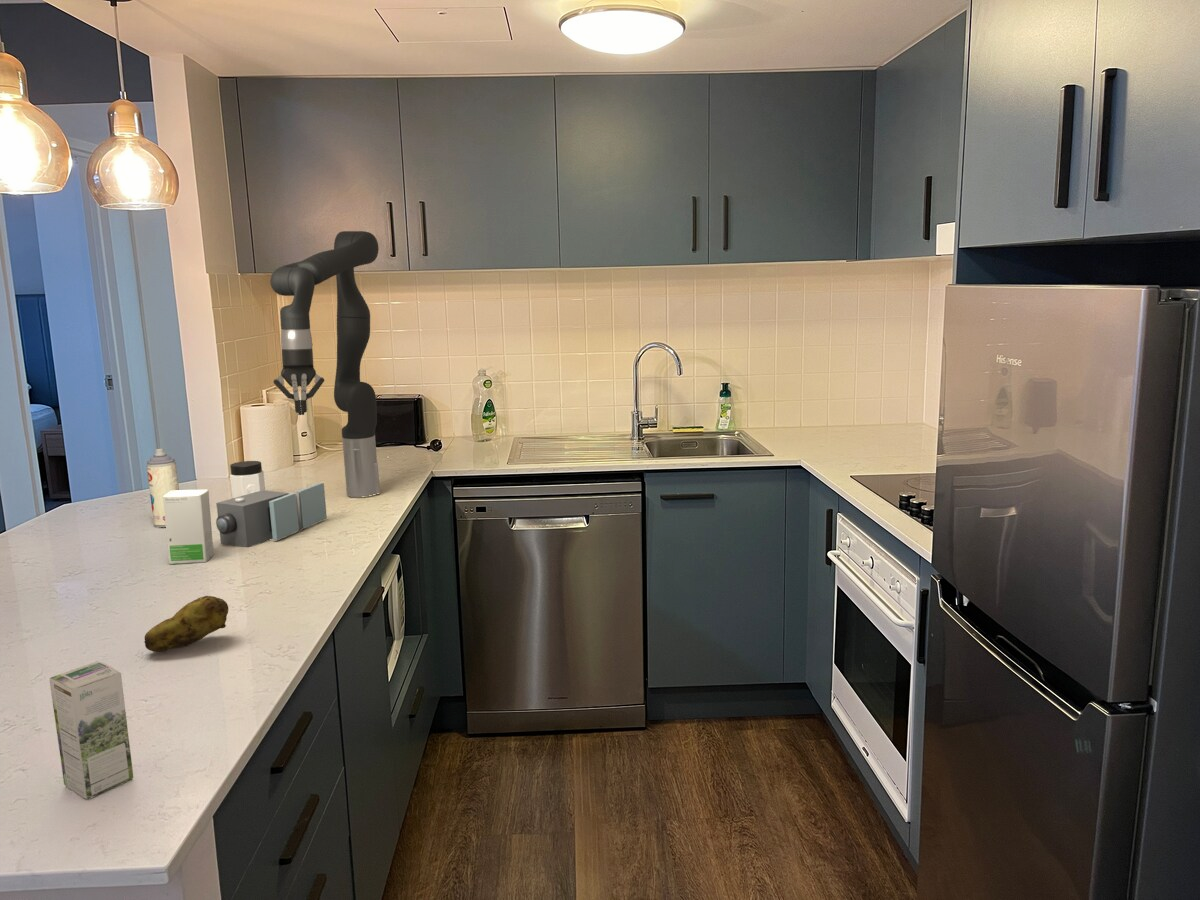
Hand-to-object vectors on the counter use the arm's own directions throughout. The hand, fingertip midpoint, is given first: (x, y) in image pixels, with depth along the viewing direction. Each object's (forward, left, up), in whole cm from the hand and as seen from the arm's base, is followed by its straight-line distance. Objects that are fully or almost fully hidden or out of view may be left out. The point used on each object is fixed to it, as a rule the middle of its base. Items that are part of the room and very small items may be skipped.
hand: (301, 414), depth 226 cm
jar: (+16, -22, -28) cm, 39 cm away
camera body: (+13, +16, -28) cm, 34 cm away
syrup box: (+24, +125, -28) cm, 130 cm away
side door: (+3, +13, -28) cm, 31 cm away
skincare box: (+25, +28, -28) cm, 47 cm away
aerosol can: (+35, -8, -28) cm, 46 cm away
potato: (+19, +82, -28) cm, 88 cm away
